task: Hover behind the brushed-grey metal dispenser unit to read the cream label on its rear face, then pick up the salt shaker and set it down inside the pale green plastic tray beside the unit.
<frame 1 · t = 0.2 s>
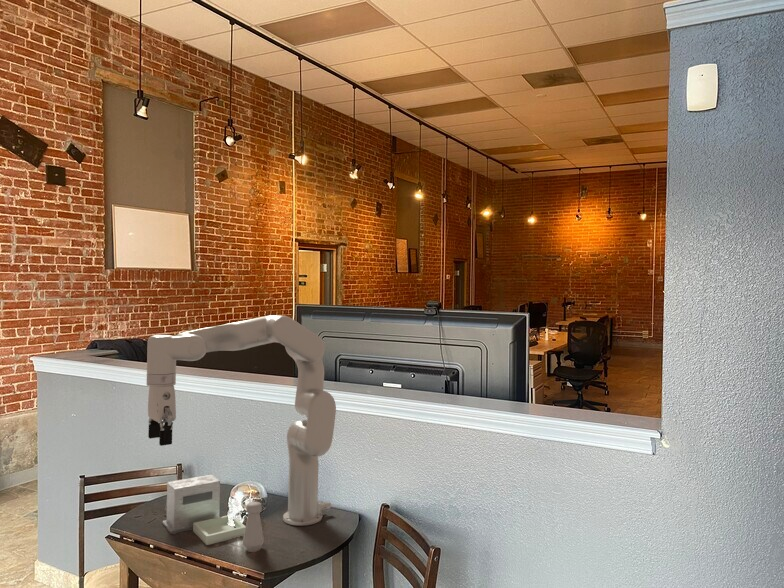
hand: (159, 441, 156), 31 cm above the table, fingers open, 9 cm apart
unit: (192, 522, 178), on the table
caster wheel: (188, 511, 188), on the table
salt shaker: (253, 549, 160), on the table
tray: (219, 533, 170), on the table
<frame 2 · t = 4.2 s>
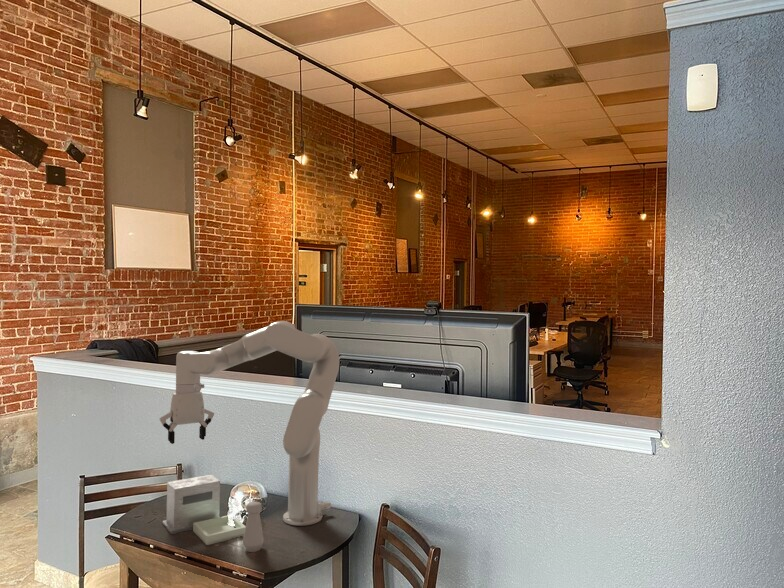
hand: (187, 440, 185), 24 cm above the table, fingers open, 9 cm apart
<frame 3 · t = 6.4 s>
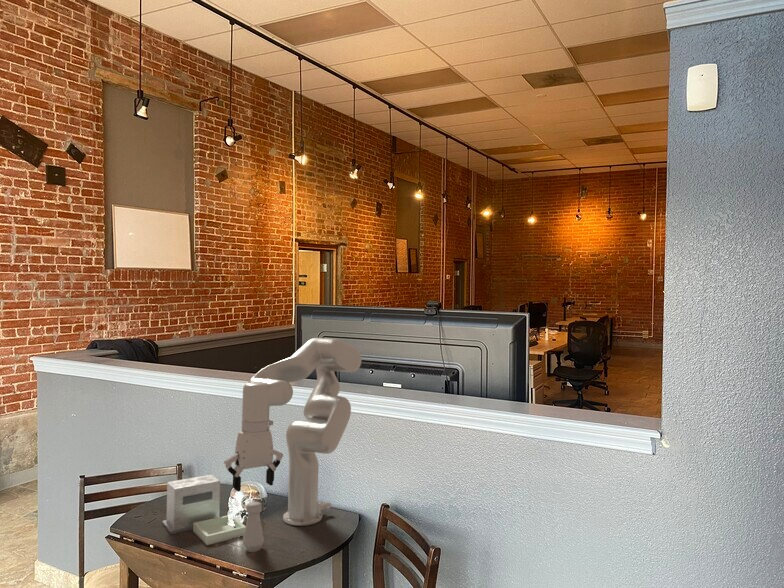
hand: (253, 487, 159), 18 cm above the table, fingers open, 9 cm apart
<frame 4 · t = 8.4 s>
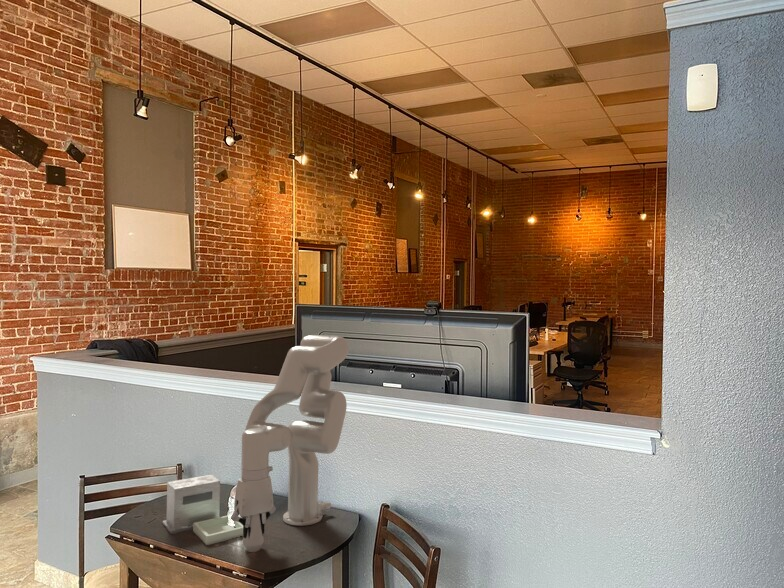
hand: (253, 537, 160), 3 cm above the table, fingers closed on salt shaker, 3 cm apart
salt shaker: (253, 549, 159), on the table, touching gripper
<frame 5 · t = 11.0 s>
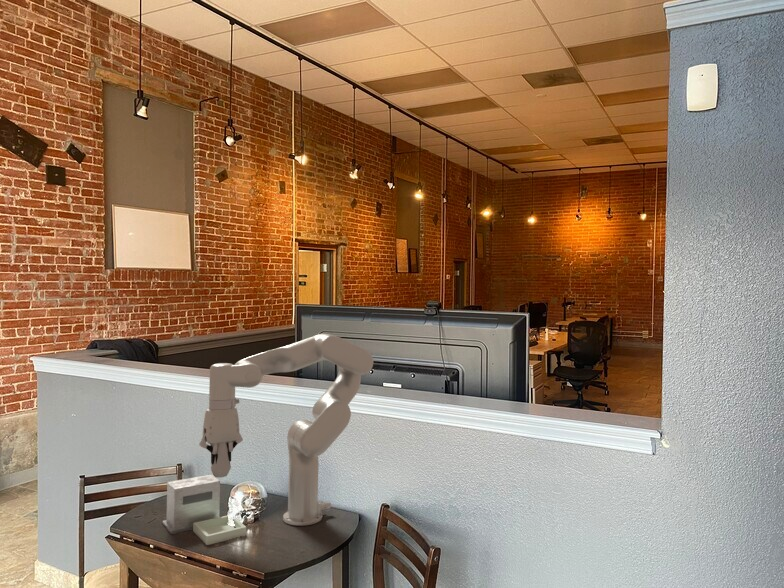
hand: (221, 464, 170), 21 cm above the table, fingers closed on salt shaker, 3 cm apart
salt shaker: (220, 476, 170), point 17 cm above the table, touching gripper
when the fingers open (5 cm above the table, at t = 14.0 s): salt shaker drops 1 cm, resting on tray.
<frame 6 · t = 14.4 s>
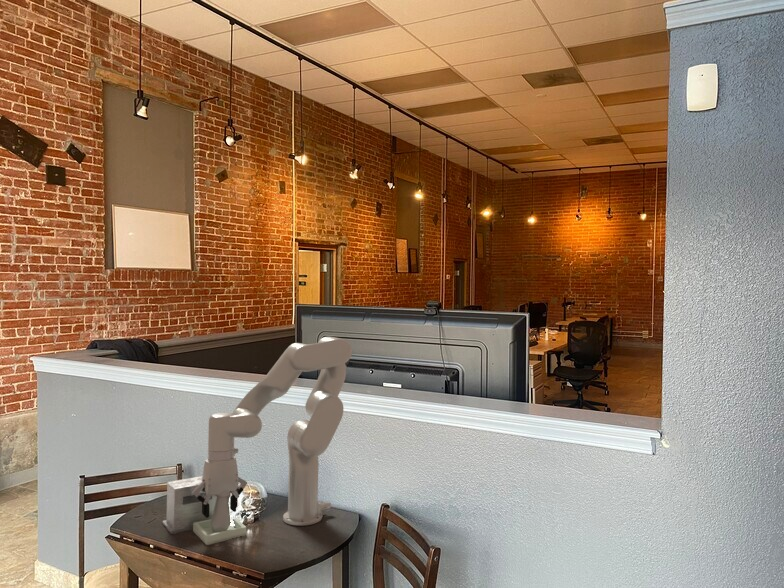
hand: (219, 512, 170), 6 cm above the table, fingers open, 7 cm apart
salt shaker: (220, 531, 170), point 1 cm above the table, touching tray
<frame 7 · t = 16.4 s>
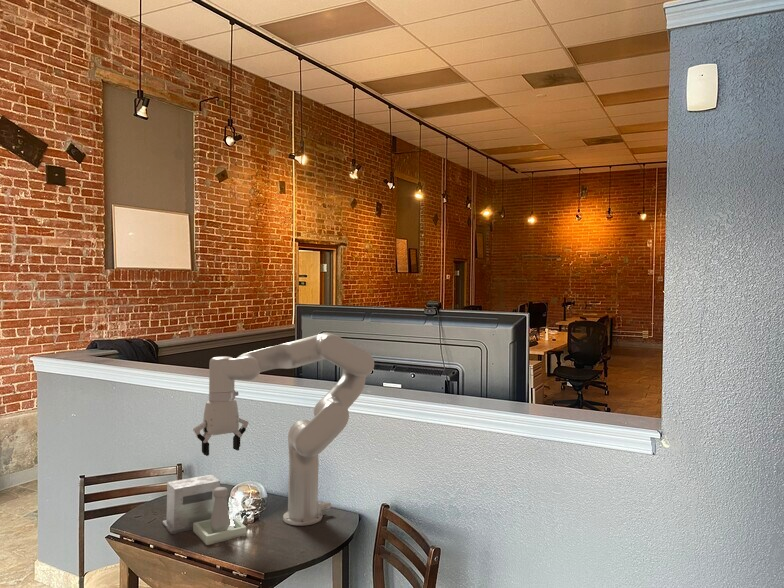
hand: (221, 452, 174), 23 cm above the table, fingers open, 9 cm apart
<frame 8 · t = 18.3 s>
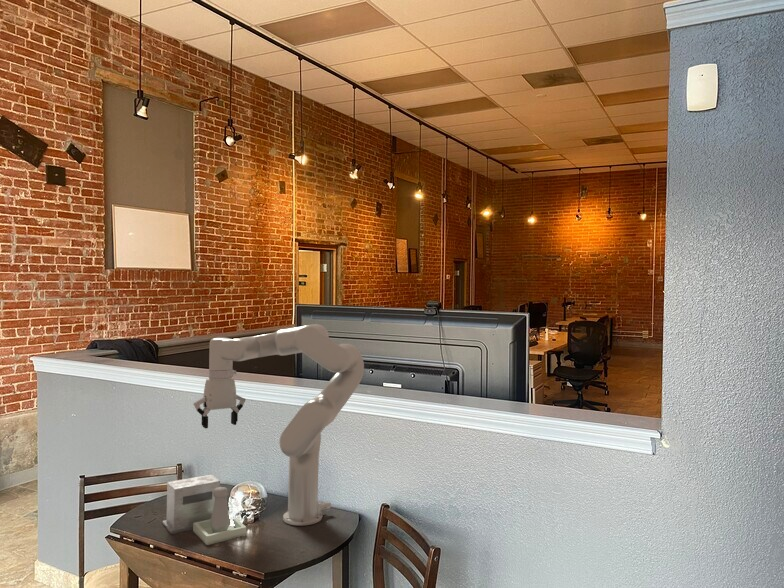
hand: (219, 425, 188), 28 cm above the table, fingers open, 9 cm apart
at the end: salt shaker inside the target area on the tray (0.1 cm from its centre), point 0.4 cm above the tray's base; salt shaker tilted 0°; the gripper is holding nothing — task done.
